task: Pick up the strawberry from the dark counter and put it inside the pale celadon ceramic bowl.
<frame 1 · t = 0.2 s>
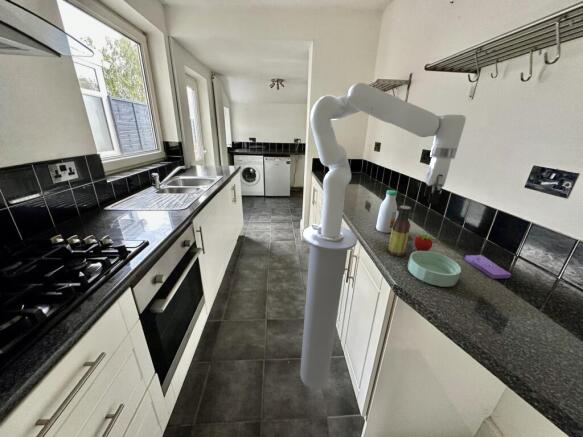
hand: (430, 200, 87), 22 cm above the table, tool pointing down, fingers open, 9 cm apart
milk bottle: (383, 230, 115), on the table
bowl: (430, 273, 81), on the table
strawberry: (419, 254, 94), on the table
sponge: (485, 268, 86), on the table
sauce bottle: (395, 253, 94), on the table
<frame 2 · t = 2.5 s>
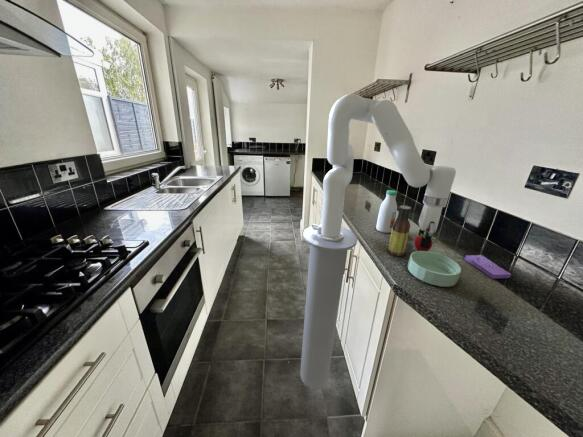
hand: (423, 242, 92), 5 cm above the table, tool pointing down, fingers closed on strawberry, 7 cm apart
strawberry: (419, 254, 94), on the table, touching gripper
everything else where it was.
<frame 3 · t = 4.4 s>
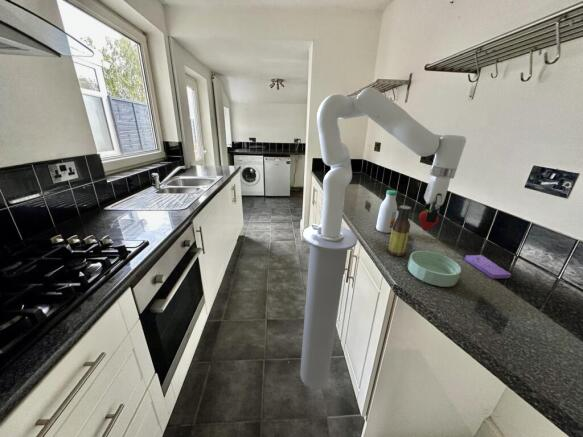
hand: (428, 218, 88), 16 cm above the table, tool pointing down, fingers closed on strawberry, 7 cm apart
strawberry: (424, 230, 90), point 10 cm above the table, touching gripper
everything else where it was.
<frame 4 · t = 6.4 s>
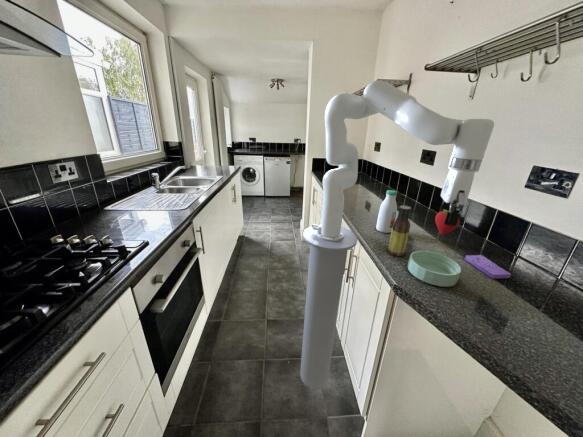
hand: (446, 220, 74), 20 cm above the table, tool pointing down, fingers closed on strawberry, 7 cm apart
strawberry: (442, 235, 76), point 15 cm above the table, touching gripper
everything else where it was.
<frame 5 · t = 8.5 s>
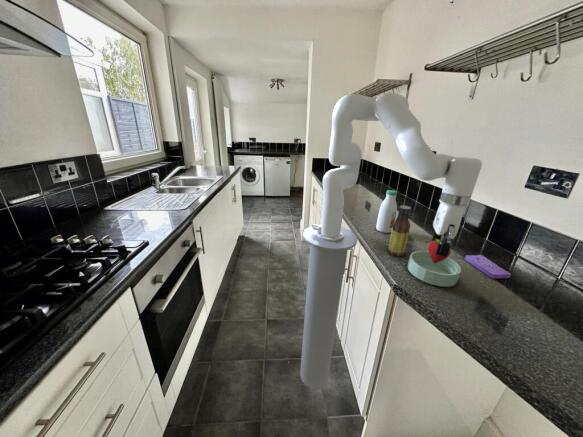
hand: (438, 249, 77), 10 cm above the table, tool pointing down, fingers closed on strawberry, 7 cm apart
strawberry: (434, 263, 79), point 4 cm above the table, touching gripper
everything else where it was.
when the fingers open (6 cm above the table, at t = 10.2 s): strawberry stays where it is, resting on bowl.
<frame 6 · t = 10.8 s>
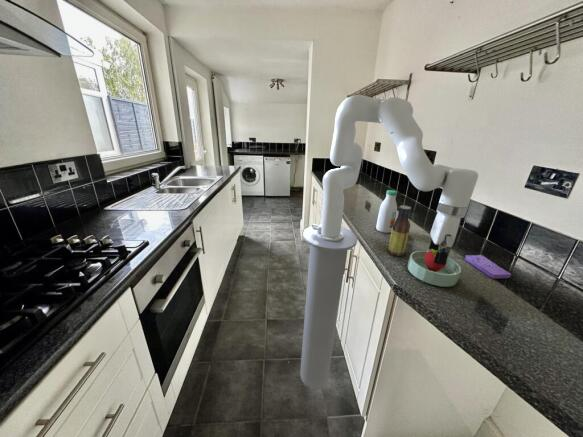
hand: (436, 256, 78), 7 cm above the table, tool pointing down, fingers open, 9 cm apart
strawberry: (431, 272, 81), resting on bowl
everything else where it was.
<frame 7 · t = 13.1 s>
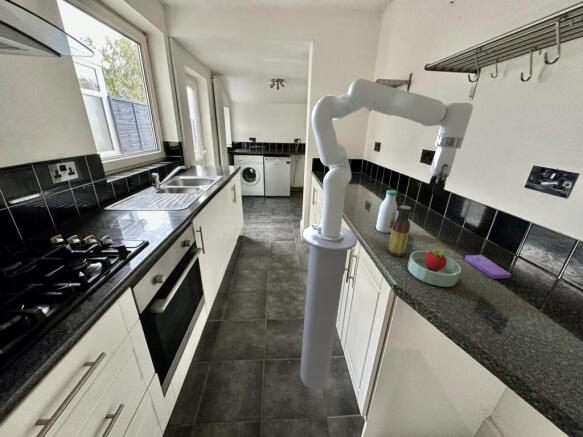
hand: (434, 191, 85), 26 cm above the table, tool pointing down, fingers open, 9 cm apart
nothing on the table moved.
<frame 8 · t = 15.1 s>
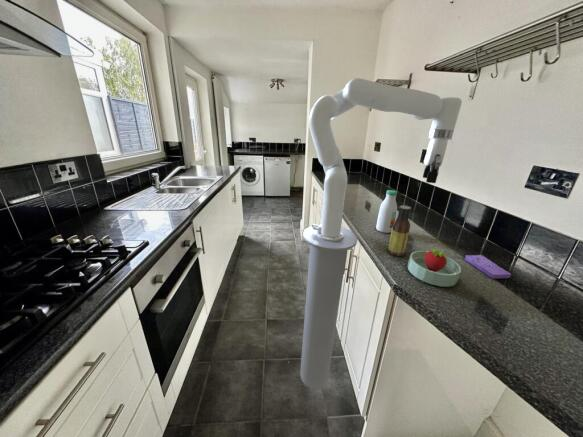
hand: (428, 180, 93), 28 cm above the table, tool pointing down, fingers open, 9 cm apart
nothing on the table moved.
at the end: strawberry inside the target area in the bowl (0.0 cm from its centre), point 0.4 cm above the bowl's base; the gripper is holding nothing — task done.
